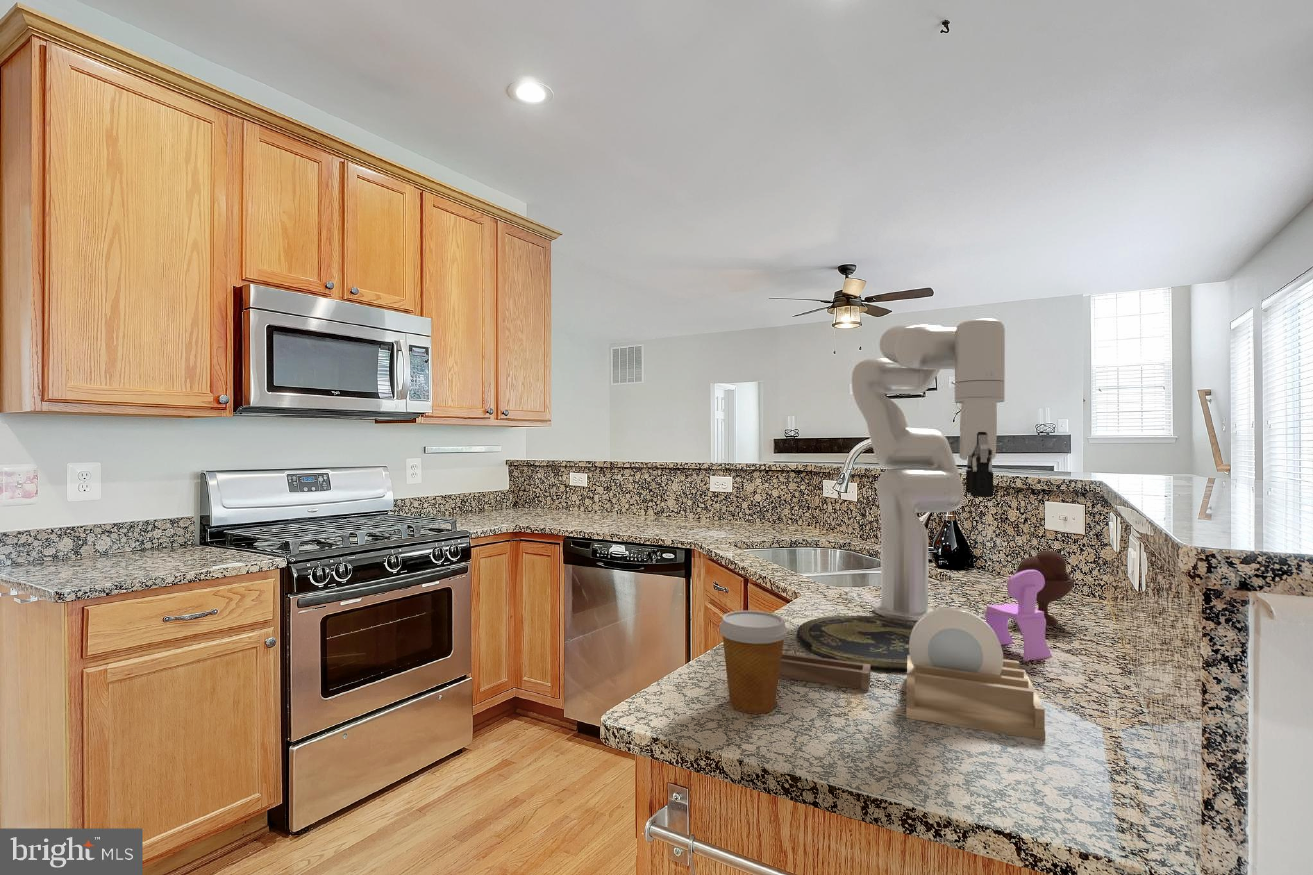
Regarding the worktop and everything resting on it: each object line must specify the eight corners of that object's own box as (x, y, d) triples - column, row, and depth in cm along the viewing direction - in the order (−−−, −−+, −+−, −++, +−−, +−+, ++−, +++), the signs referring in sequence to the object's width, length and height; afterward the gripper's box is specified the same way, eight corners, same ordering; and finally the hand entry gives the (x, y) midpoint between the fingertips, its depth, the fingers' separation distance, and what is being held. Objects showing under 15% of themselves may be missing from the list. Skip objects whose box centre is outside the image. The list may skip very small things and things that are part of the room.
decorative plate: (1011, 651, 107) (869, 672, 96) (1011, 662, 107) (869, 685, 96) (886, 609, 134) (766, 622, 124) (886, 618, 134) (765, 631, 123)
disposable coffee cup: (800, 704, 87) (800, 618, 88) (760, 726, 81) (761, 633, 81) (745, 685, 94) (745, 606, 94) (704, 704, 87) (705, 618, 88)
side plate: (894, 625, 93) (974, 595, 89) (934, 703, 90) (1018, 676, 86) (893, 628, 91) (975, 598, 87) (934, 708, 89) (1020, 681, 85)
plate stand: (771, 666, 103) (771, 651, 103) (870, 680, 97) (870, 664, 97) (765, 674, 99) (766, 659, 99) (868, 690, 93) (868, 673, 93)
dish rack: (907, 677, 98) (907, 644, 98) (1024, 693, 92) (1024, 658, 92) (906, 717, 83) (906, 678, 84) (1045, 740, 77) (1045, 698, 77)
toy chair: (1013, 641, 117) (1013, 561, 117) (1056, 656, 109) (1057, 570, 109) (978, 645, 115) (979, 563, 115) (1020, 661, 106) (1020, 573, 106)
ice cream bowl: (1060, 615, 135) (1060, 546, 135) (1083, 630, 124) (1083, 555, 124) (1006, 612, 138) (1006, 544, 138) (1024, 626, 127) (1024, 552, 127)
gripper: (951, 397, 115) (951, 490, 115) (958, 389, 99) (957, 497, 99) (997, 397, 112) (997, 492, 112) (1011, 388, 96) (1011, 499, 96)
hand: (978, 494), depth 106 cm, fingers open, 9 cm apart
